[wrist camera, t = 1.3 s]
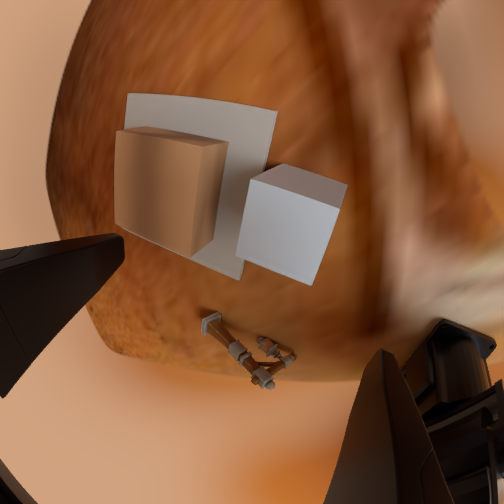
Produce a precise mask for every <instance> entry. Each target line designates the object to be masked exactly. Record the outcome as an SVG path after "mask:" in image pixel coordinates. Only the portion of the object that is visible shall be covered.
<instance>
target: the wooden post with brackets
mask: <svg viewBox="0 0 504 504" xmlns="http://www.w3.org/2000/svg"><path fill="white" fill-rule="evenodd" d="M221 315H222V314H220V313H219V312H217V313H215V314H212V315H210V316H208V317H206V318H203V319H202V329H201V333H203V334H204V335H205V334H208V333H209V334H211V335H212V336H213V337H215V338H216V339H217V340H218V341H220V342H221V343H222V344H223V345H225V346H226V347H227V348H228V352H229V353H230V354H231V355H232V356H233V357H234V358H235V360H236V361H239V364H240V365H241V366H242V365H243V366H244V367H245V368H246V369H247V370H248V371H249V372H250V373H251V374H252V377H251V378H252V380H251V382H252V383H253V384H254V385H257V384H258V385H259V386H260V387H261V389H263V388H264V387H266V388H267V389H269V390H271V389H273V388H274V387H275V383H274V382H273V381H272V380H273V378H274V377H273V376H272V375H274V374H275V373H277V372H278V371H280V370H281V369H282V368H283V369H284V368H286V367H287V366H289V365H290V363H292V362H293V361H295V359H296V357H297V355H295V354H294V353H293V352H292V353H291V354H289V355H288V356H287V355H286V356H284V357H282V356H281V355H280V354H279V353H280V351H279V352H277V351H278V350H276V349H277V346H278V343H277V344H276V345H275V344H273V342H272V341H271V340H270V339H269V338H268V337H267V338H266V339H264V338H263V337H259V338H258V343H259V344H260V345H259V349H261V350H263V351H264V352H265V353H266V354H267V355H266V357H268V356H270V355H273V356H274V355H275V356H274V358H276V357H277V358H279V359H280V358H281V357H282V358H281V359H280V361H277V362H256V361H255V360H254V359H253V358H252V357H251V356H252V353H251V352H247V348H245V347H244V346H243V345H242V344H241V343H240V341H239V340H237V341H236V340H235V339H234V338H233V337H232V335H231V334H230V333H229V332H228V330H227V329H226V328H225V326H224V325H223V324H222V322H221ZM279 355H280V356H279ZM278 356H279V357H278ZM260 366H262V367H260ZM263 366H264V367H270V368H268V369H266V370H265V368H264V367H263Z"/></svg>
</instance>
